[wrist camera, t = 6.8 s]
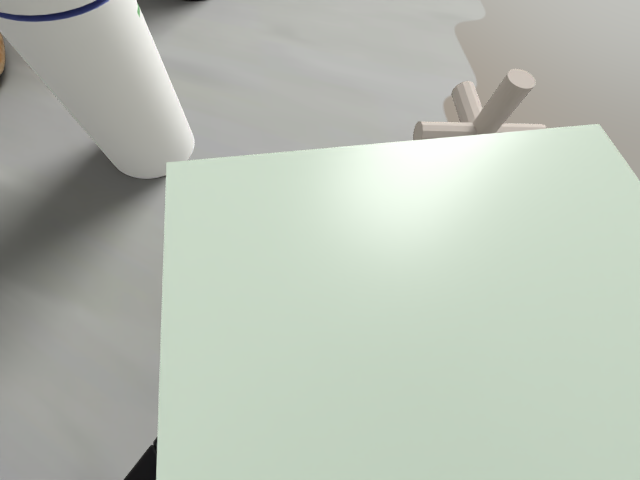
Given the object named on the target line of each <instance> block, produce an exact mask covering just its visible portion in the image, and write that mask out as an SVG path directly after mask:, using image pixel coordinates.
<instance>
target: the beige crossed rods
mask: <svg viewBox="0 0 640 480" xmlns="http://www.w3.org/2000/svg"><path fill="white" fill-rule="evenodd" d="M535 84H536V81H535V79H534V77H533V76H532V75H531V74H530V73H528V72H527V71H524V70H521V69H512V70H510V71H509V72H508V74H507V75H506V77H505V78H504V79H503V81H502V82H501V84H500V85H499V86H498V88H497V89H496V91H495V92H494V94H493V95H492V96H491V98H490V99H489V101H488V102H487V103H486V105H485V106H484V108H482V106H481V103H480V100H479V97H478V95H477V92H476V89H475V86H474V84H473V82H470V81H465V82H462V83H460V84H458V85H457V86H456V87H455V88H454V89H453V91H452V94H451V95H452V98H453V101H454V104H455V107H456V110H457V113H458V117H459V120H460V122H418V123H417V124H416V126H415V129H414V134H413V140H424V139H435V138H446V137H458V136H469V135H480V134H491V133H503V132H514V131H525V130H537V129H547V127H546V126H545V125H544V124H509V123H507V124H506V123H504V122H505V121H506V120H507V118H508V117H509V116H510V115H511V114H512V112H513V111H514V110H515V109H516V108H517V106H518V105H519V104H520V103H521V101H522V100H523V99H524V98H525V97H526V96H527V94H528V93H529V92H530V91H531V89H532V88H533V87H534V86H535Z"/></svg>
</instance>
